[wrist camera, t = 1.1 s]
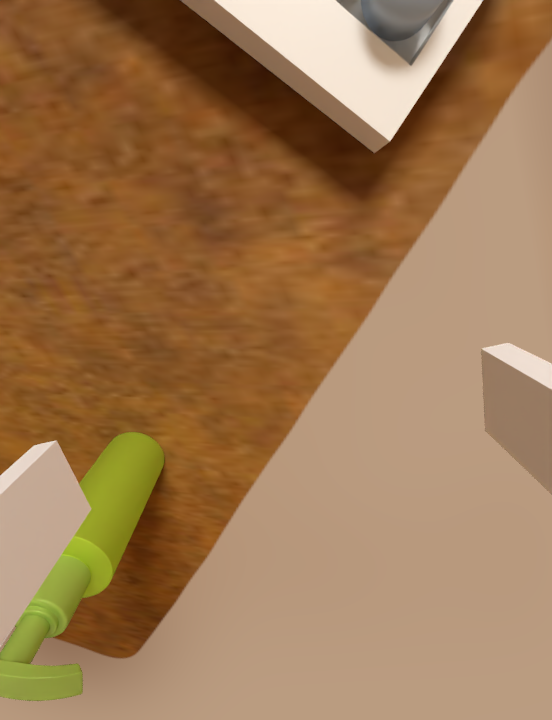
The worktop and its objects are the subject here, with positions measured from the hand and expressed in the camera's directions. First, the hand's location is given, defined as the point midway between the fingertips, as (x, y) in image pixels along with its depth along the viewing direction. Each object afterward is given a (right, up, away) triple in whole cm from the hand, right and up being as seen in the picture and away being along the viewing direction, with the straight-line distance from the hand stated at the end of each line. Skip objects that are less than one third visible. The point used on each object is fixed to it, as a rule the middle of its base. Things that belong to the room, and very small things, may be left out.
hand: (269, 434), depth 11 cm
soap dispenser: (-14, -8, +26) cm, 31 cm away
